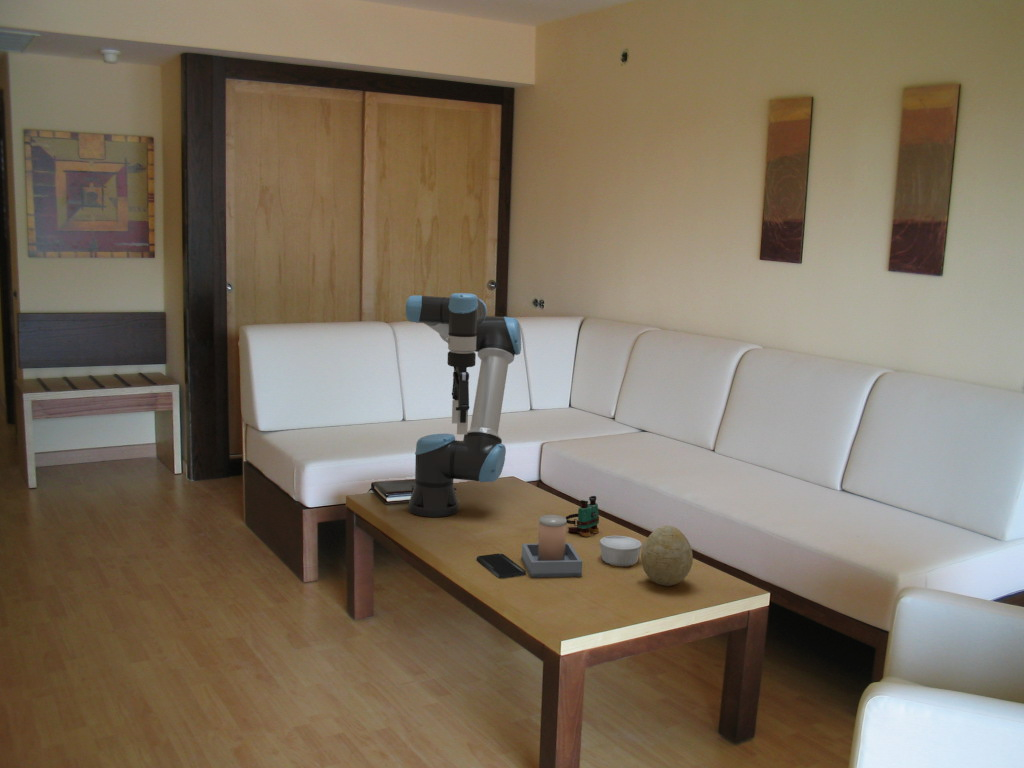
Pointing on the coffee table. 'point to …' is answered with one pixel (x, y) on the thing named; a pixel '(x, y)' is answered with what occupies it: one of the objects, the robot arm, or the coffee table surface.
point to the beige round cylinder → (551, 538)
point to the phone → (501, 566)
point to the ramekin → (620, 550)
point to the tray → (552, 563)
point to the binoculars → (585, 518)
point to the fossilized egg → (667, 556)
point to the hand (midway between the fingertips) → (459, 428)
